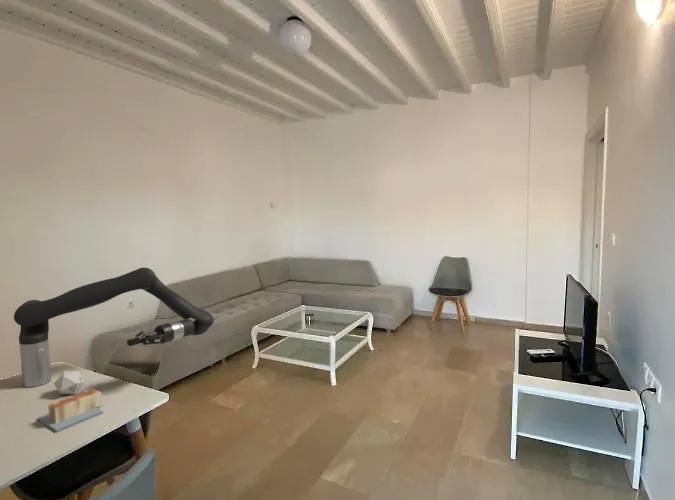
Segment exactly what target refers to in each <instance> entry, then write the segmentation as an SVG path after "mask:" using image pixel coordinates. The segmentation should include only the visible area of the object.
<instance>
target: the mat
mask: <svg viewBox="0 0 675 500" xmlns="http://www.w3.org/2000/svg"><path fill="white" fill-rule="evenodd" d="M102 414H104V411H103V410H102V409H100V408H98V407H96V408H93V409H91V410H88V411H86V412H83V413H81V414H78V415H76V416H74V417H71V418H69V419H66V420H64V421H61V422H59V423H55V422H53V421H52V420H50V419H49V412H48V413H45V414H42V415H39V416H37V421H39V422H41V423H42V424H44V425H45V426H47V427H48V428H49V429H51V430H52V431H54V432H55V433H59V432H61V431H64V430H66V429H68V428H71V427H73V426H76V425H78V424H80V423H83V422H85V421H89V419H90V420H91V419H92V418H95V417H98V416H99V415H102Z"/></svg>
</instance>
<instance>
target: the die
mask: <svg viewBox="0 0 675 500" xmlns="http://www.w3.org/2000/svg"><path fill="white" fill-rule="evenodd" d="M85 383H86V381H85V380H84V378H83V376H82V374H81V373H80V371H79V370H64V371H63V372H62V373H61V374H60V376H59V377H58V378H57V379H56V380H55V381H54V382H53V384H54V386H55V388H56V389H57V392H58V393H59V394H60V395H62V396H69V395H70V396H73V395H76V394H78V391H79V390H80V389H81V388H82V387H83V386H84V384H85Z"/></svg>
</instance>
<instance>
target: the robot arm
mask: <svg viewBox="0 0 675 500" xmlns="http://www.w3.org/2000/svg"><path fill="white" fill-rule="evenodd" d="M138 290H143V291H145V292H146V293H149V294H150V295H152V296H153V297H155V298H157V299H158V300H159V301H160V302H162V303H163V304H164V305H165V306H167V307H168V308H169V309H170V310H172V312H173V313H175V314H176V315H178V316H179V317H180V318H181V319H182V320H179V321H178V320H177V321H171V322H168V323H164V324H159V325H156V326H155V328H154V330H149V331H147V332H144V331H140V332H138V333H137V334H136V335H135V337H133V338H130V339H127V340H126V345H127V346H128V347H132V346H137V345H144V346H145V345H159V344H161V345H162V344H166V343H169V342H173V341H177V340H179V339H181V338H184V337H185V338H186V337H188V336H200V335H203V334H204V333H206V332H207V331H208V330H209V329H210V328H211V326H212V325H213V324H214V322H215V321H214V317H213V315H212V314H211V313H210V312H208V311H207V310H204V309H202V308H201V307H200V308H199V307H197V306H195V305H193V304H192V303H191V302H190V301H188V300H187V299H186V298H184V297H183V296H181V295H180V294H178V293H177V292H175V291H173V289H171V288H169V287H168V286H167V285H165V284H164V282H162V281H161V280H160V279H159V277H158V276H157V275H156V274H155V272H154V271H153V270H152V269H151V268H148V267H139V268H137V269H134V270H132V271H130V272H127V273H124V274H122V275H119V276H116V277H113V278H107V279H103V280H98V281H95V282H91V283H88V284H85V285H81V286H79V287H76V288H73V289H71V290H68V291H67V292H66V291H65V292H63V294H59V295H58V296H55V297H52V298H49V299H46V300H38V299H31V300H27V301H24V303H22V304H21V305H19V306H18V307H17V308H16V309H15V312H14V314H13V320H14V322H15V323H16V324H17V325H19V326H20V329H19V330H20V331H19V335H18V343H19V344H18V345H19V353H20V354H19V356H20V366H21V367H20V368H21V378H22V379H21V380H22V386H23V387H25V388H33V387H39V386H42V385H46V384H48V383H49V382H51V381H52V368H51V356H50V354H51V353H50V343H49V331H50V324H49V320H51V319H53V318H56V317H59V316H62V315H65V314H69V313H70V314H71V313H74V312H77V311H81V310H84V309H88V308H92V307H95V306H97V305H101V304H103V303H105V302H109V301H110V300H112V299H115V298H116V297H118V296H120V295H122V294H125V293H130V292H132V291H138ZM190 318H191V319H190ZM192 319H193V320H192Z"/></svg>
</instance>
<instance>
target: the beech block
mask: <svg viewBox="0 0 675 500" xmlns="http://www.w3.org/2000/svg"><path fill="white" fill-rule="evenodd" d="M101 394H102V393H101V391H99V390H98V389H96V388H90V389H88V390H85V391H82V392H79V393H76V394H75V395H70V396H68V397H65V398H62V399H60V400H57V401H54V402H51V403H48V404H47V406H48V407H47V409H48V413H49V419H50V420H52V421H53V422H55V423H59V422H61V421H64V420H66V419H69V418H71V417H74V416H76V415H78V414H81V413H83V412H86V411H88V410H91V409H93V408H96V407H97V408H98V407H100V406H102V397H101Z"/></svg>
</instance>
